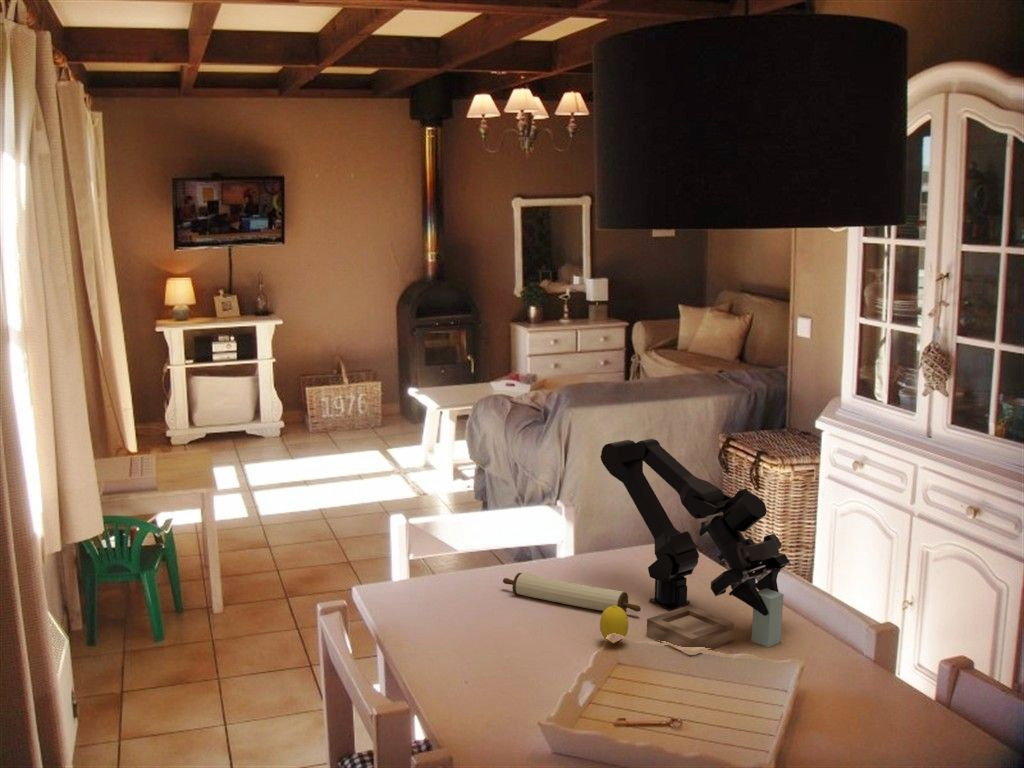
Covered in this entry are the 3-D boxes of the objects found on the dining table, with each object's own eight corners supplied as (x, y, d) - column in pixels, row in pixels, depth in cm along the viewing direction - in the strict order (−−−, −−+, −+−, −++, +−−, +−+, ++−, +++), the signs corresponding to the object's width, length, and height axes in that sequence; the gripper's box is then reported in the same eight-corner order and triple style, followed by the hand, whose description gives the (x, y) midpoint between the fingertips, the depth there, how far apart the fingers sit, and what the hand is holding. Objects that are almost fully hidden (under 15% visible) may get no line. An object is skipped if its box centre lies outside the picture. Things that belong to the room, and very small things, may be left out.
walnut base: (646, 635, 206) (647, 618, 206) (688, 621, 214) (688, 605, 213) (691, 656, 197) (692, 639, 196) (733, 640, 204) (734, 624, 204)
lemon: (626, 651, 199) (627, 611, 198) (597, 648, 200) (598, 609, 199) (629, 639, 204) (630, 600, 203) (601, 636, 205) (602, 598, 204)
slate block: (751, 640, 204) (753, 592, 203) (763, 635, 207) (766, 588, 205) (768, 647, 201) (770, 598, 200) (780, 642, 204) (783, 594, 202)
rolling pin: (497, 595, 227) (497, 573, 226) (508, 587, 232) (509, 565, 231) (635, 623, 213) (636, 600, 212) (644, 614, 218) (645, 591, 217)
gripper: (725, 532, 197) (770, 604, 191) (784, 514, 209) (828, 581, 202) (691, 560, 204) (733, 631, 198) (750, 541, 216) (792, 607, 210)
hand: (773, 612), depth 202 cm, fingers closed on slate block, 4 cm apart
